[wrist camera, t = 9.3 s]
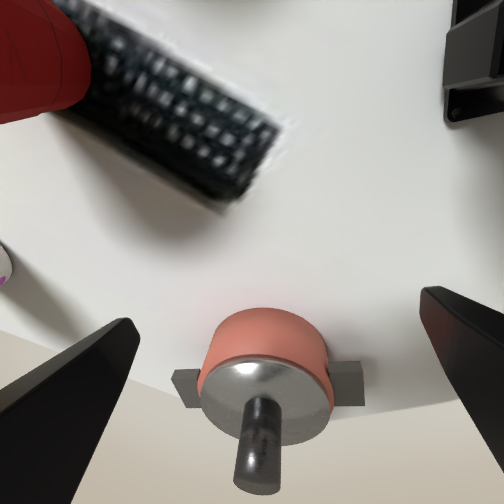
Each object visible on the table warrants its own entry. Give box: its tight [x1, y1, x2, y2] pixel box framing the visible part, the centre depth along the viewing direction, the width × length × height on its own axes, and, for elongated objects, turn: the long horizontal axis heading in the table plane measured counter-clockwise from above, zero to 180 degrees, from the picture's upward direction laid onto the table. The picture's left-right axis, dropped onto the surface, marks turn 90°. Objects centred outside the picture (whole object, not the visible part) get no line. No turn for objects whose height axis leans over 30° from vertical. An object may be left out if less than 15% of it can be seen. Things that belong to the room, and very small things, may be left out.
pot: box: [171, 308, 365, 414], centre depth 25 cm, size 17×12×5 cm
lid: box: [200, 354, 330, 495], centre depth 20 cm, size 11×11×6 cm
